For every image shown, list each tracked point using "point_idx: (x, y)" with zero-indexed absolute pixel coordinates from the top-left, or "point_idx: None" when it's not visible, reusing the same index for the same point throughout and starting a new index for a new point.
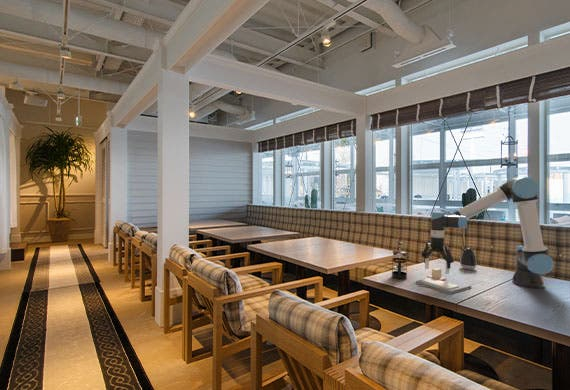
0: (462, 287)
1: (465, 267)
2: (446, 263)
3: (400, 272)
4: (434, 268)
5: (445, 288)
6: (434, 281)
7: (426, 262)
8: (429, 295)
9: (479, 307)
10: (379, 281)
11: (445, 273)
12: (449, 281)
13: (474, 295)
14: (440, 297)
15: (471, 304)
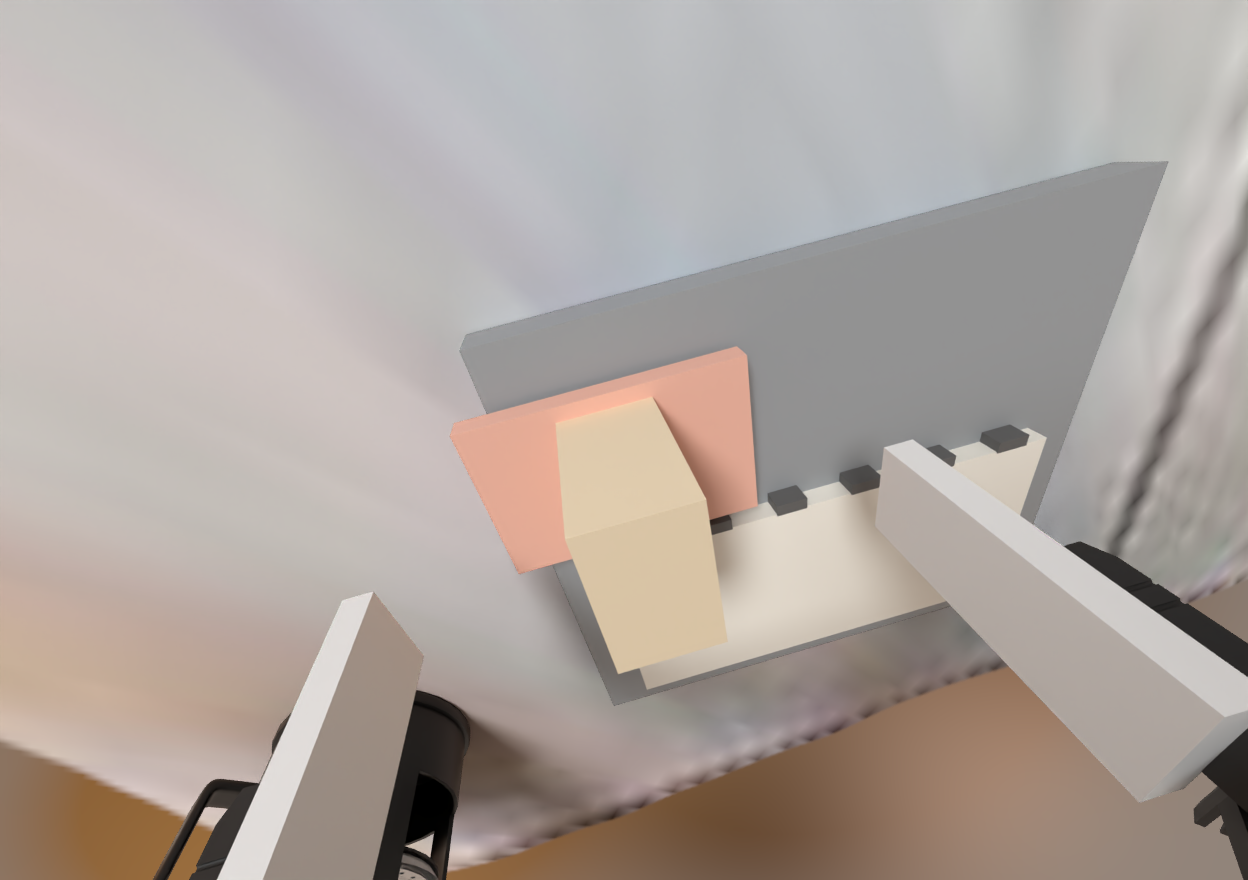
0: (1067, 393)
1: None
2: (1170, 783)
3: (447, 853)
4: (600, 620)
5: None
6: (760, 598)
7: (372, 845)
8: (887, 699)
9: (1228, 553)
10: (476, 850)
11: (887, 532)
12: (818, 360)
13: (1181, 389)
14: (958, 662)
15: (1173, 564)
